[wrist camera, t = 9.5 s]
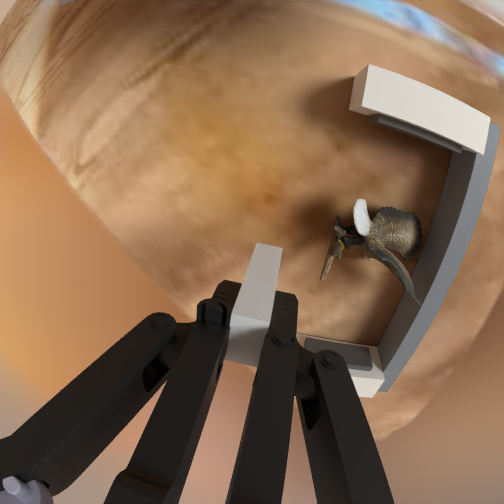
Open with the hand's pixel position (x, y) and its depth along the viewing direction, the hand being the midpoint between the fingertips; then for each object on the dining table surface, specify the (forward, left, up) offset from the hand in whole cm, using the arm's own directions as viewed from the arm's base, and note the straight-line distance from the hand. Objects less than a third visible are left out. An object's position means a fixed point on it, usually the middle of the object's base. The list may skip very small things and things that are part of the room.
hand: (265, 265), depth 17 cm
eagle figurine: (0, +9, -9) cm, 12 cm away
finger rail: (+1, +9, -8) cm, 12 cm away
